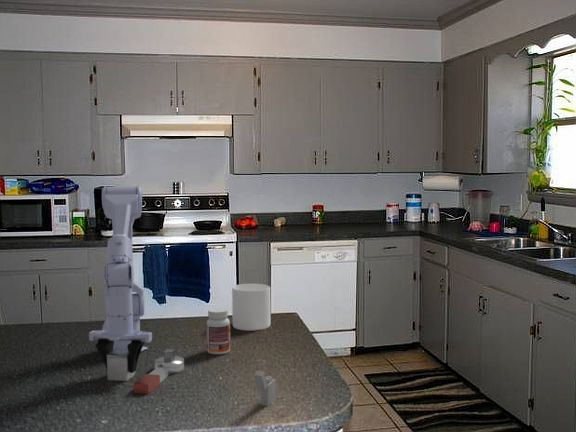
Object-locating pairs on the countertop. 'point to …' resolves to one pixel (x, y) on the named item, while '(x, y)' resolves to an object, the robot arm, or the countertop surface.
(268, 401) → the lighter
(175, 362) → the ratchet
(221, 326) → the pill bottle
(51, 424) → the countertop surface
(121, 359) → the grey block
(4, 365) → the countertop surface
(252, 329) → the white cylinder
